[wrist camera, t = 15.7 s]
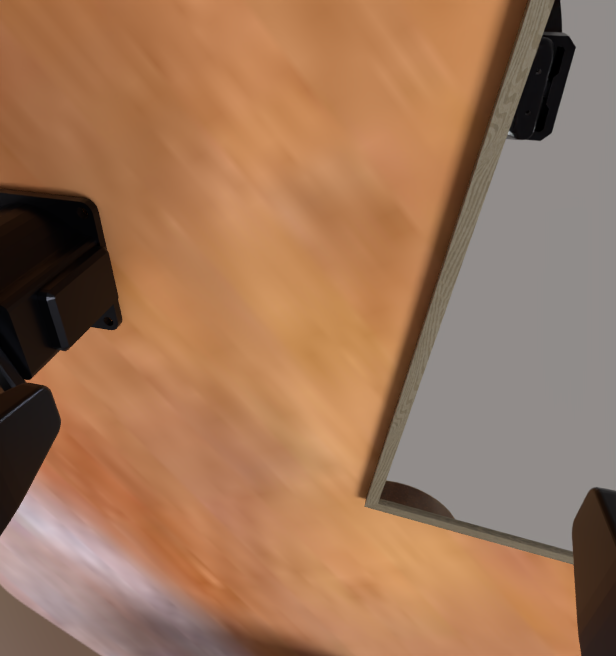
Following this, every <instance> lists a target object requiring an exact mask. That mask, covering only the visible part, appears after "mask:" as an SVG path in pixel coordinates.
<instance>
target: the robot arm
mask: <svg viewBox="0 0 616 656" xmlns="http://www.w3.org/2000/svg"><path fill="white" fill-rule="evenodd" d="M82 208H84V209H85V210H86V211H87V213H88V215H87V214H85V213H84V212H83V210H82ZM109 318H111V319H112V321H111V320H110V319H109ZM121 323H122V315H121V311H120V306H119V302H118V293H117V289H116V284H115V280H114V275H113V270H112V266H111V261H110V257H109V253H108V251H107V248H106V243H105V239H104V234H103V230H102V225H101V221H100V216H99V212H98V209H97V206H96V205H95V204H94V203H93V202H92V201H91V200H89V199H86V198H79V197H70V196H61V195H52V194H43V193H35V192H26V191H17V190H8V189H0V536H1V534H2V533H3V531H4V530H5V528H6V527H7V525H8V524H9V522H10V521H11V519H12V517H13V516H14V514H15V513H16V511H17V509H18V508H19V506H20V504H21V502H22V501H23V499H24V497H25V495H26V493H27V492H28V490H29V488H30V486H31V484H32V482H33V480H34V478H35V476H36V474H37V472H38V471H39V469H40V467H41V465H42V463H43V461H44V459H45V457H46V455H47V453H48V452H49V450H50V448H51V446H52V444H53V442H54V440H55V438H56V436H57V434H58V432H59V429H60V425H61V419H60V415H59V412H58V409H57V407H56V404H55V401H54V398H53V395H52V392H51V390H50V389H49V388H48V387H47V386H44V385H39V384H33V383H26V381H25V380H24V379H26V380H30V379H31V378H32V377H33V376H34V375H35V374H36V373H37V372H38V371H39V370H40V369H41V368H43V367H44V366H45V365H46V364H47V363H48V362H49V361H50V360H51V359H52V358H53V357H54V356H55V355H56V354H57V353H58V352H59V351H60V350H61V351H67V350H68V349H69V348H70V347H71V346H72V345H73V344H74V343H75V342H76V341H77V340H78V339H79V338H80V337H81V336H82V335H83V334H84V333H85V332H86V331H87V330H88V329H89V328H90V327H95V328H101V329H107V330H115V329H117V328H118V326H119V325H120V324H121ZM572 546H573V562H574V578H575V593H576V609H577V624H578V635H579V642H580V649H581V656H616V490H611V489H605V488H600V487H593V488H591V489H590V490H589V492H588V493H587V495H586V497H585V499H584V501H583V503H582V505H581V507H580V509H579V510H578V512H577V514H576V516H575V518H574V521H573V525H572Z"/></svg>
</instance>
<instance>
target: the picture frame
mask: <svg viewBox="0 0 616 656" xmlns="http://www.w3.org/2000/svg"><path fill="white" fill-rule="evenodd" d="M593 487H600V488H605V489H611V490H616V0H528V2H527V5H526V8H525V11H524V15H523V18H522V21H521V24H520V27H519V30H518V33H517V36H516V39H515V42H514V45H513V48H512V51H511V54H510V58H509V61H508V64H507V67H506V70H505V73H504V76H503V79H502V82H501V85H500V88H499V91H498V94H497V98H496V101H495V104H494V107H493V110H492V113H491V116H490V119H489V122H488V125H487V128H486V131H485V134H484V137H483V141H482V144H481V147H480V150H479V153H478V156H477V159H476V162H475V165H474V168H473V171H472V174H471V177H470V181H469V184H468V187H467V190H466V193H465V196H464V199H463V202H462V205H461V208H460V211H459V214H458V217H457V220H456V224H455V227H454V230H453V233H452V236H451V239H450V242H449V245H448V248H447V251H446V254H445V257H444V260H443V264H442V267H441V270H440V273H439V276H438V279H437V282H436V285H435V288H434V291H433V294H432V297H431V300H430V303H429V307H428V310H427V313H426V316H425V319H424V322H423V325H422V328H421V331H420V334H419V337H418V340H417V343H416V347H415V350H414V353H413V356H412V359H411V362H410V365H409V368H408V371H407V374H406V377H405V380H404V383H403V386H402V390H401V393H400V396H399V399H398V402H397V405H396V408H395V411H394V414H393V417H392V420H391V423H390V426H389V430H388V433H387V436H386V439H385V442H384V445H383V448H382V451H381V454H380V457H379V460H378V463H377V466H376V469H375V473H374V476H373V479H372V482H371V485H370V488H369V491H368V494H367V497H366V502H365V507H368V508H371V509H375V510H378V511H382V512H386V513H389V514H393V515H396V516H400V517H404V518H407V519H411V520H415V521H418V522H422V523H425V524H429V525H433V526H436V527H440V528H443V529H447V530H451V531H454V532H458V533H461V534H465V535H469V536H472V537H476V538H479V539H483V540H487V541H490V542H494V543H498V544H501V545H505V546H508V547H512V548H516V549H519V550H523V551H526V552H530V553H534V554H537V555H541V556H544V557H548V558H552V559H555V560H559V561H562V562H566V563H570V564H573V565H574V562H573V546H572V525H573V521H574V518H575V516H576V514H577V512H578V510H579V509H580V507H581V505H582V503H583V501H584V499H585V497H586V495H587V493H588V492H589V490H590V489H591V488H593Z"/></svg>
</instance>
